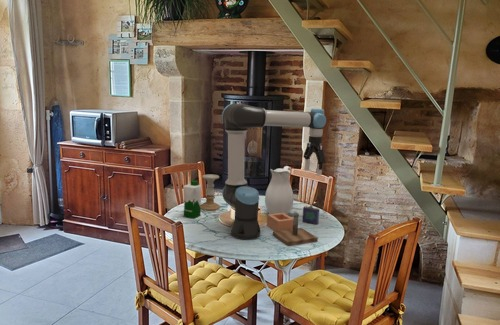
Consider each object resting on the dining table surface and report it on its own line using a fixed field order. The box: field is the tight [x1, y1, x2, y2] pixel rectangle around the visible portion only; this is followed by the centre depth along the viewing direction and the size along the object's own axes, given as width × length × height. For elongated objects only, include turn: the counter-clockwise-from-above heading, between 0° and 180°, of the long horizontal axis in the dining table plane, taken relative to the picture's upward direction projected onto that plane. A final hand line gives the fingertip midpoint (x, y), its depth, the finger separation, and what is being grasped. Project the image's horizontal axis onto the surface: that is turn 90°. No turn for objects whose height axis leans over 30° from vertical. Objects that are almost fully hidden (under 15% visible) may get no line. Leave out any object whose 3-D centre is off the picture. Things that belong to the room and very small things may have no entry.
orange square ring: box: [266, 213, 293, 231], centre depth 201 cm, size 10×12×6 cm
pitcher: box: [264, 165, 294, 215], centre depth 227 cm, size 24×17×28 cm
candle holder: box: [201, 173, 221, 212], centre depth 229 cm, size 12×12×20 cm
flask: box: [301, 204, 320, 226], centre depth 210 cm, size 9×3×11 cm, turn 68°
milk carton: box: [182, 180, 202, 220], centre depth 212 cm, size 9×9×20 cm
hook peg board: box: [272, 212, 319, 247], centre depth 186 cm, size 17×15×13 cm
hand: (312, 172), depth 217 cm, fingers open, 13 cm apart
